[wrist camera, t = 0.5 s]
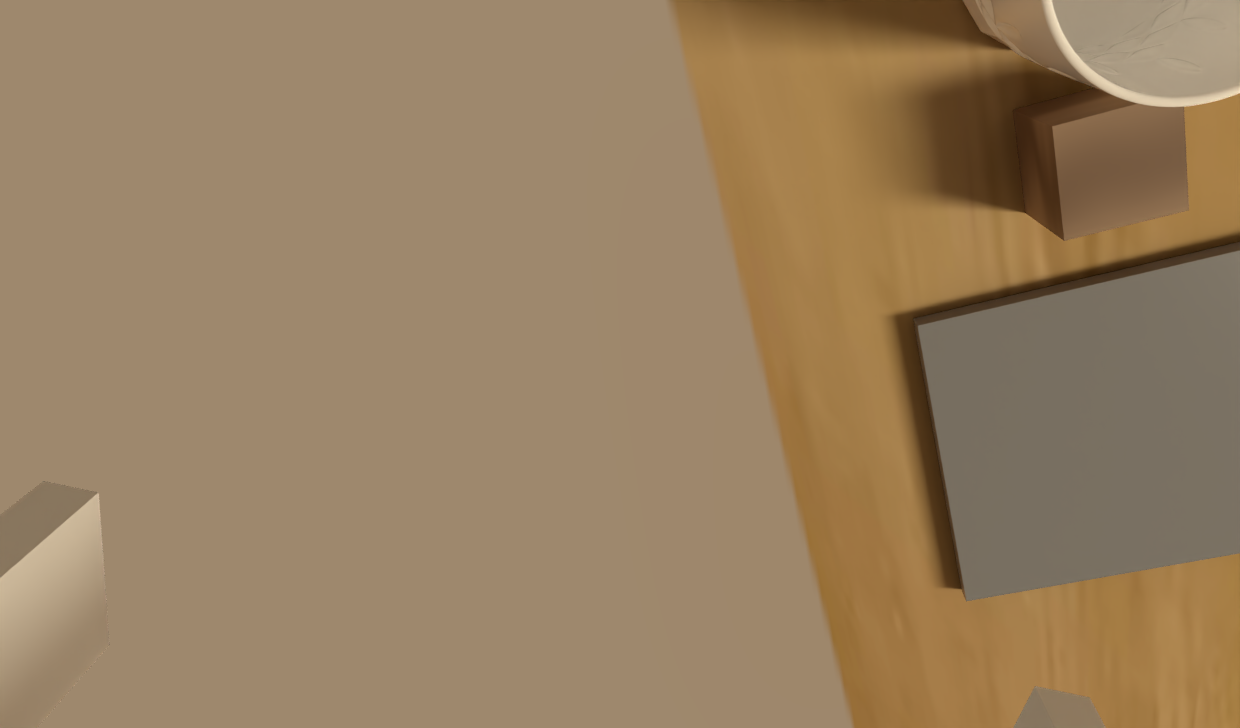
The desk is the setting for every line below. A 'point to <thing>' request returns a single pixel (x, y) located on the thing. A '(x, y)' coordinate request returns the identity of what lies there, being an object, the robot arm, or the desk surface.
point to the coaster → (1090, 424)
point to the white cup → (1126, 44)
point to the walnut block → (1100, 162)
